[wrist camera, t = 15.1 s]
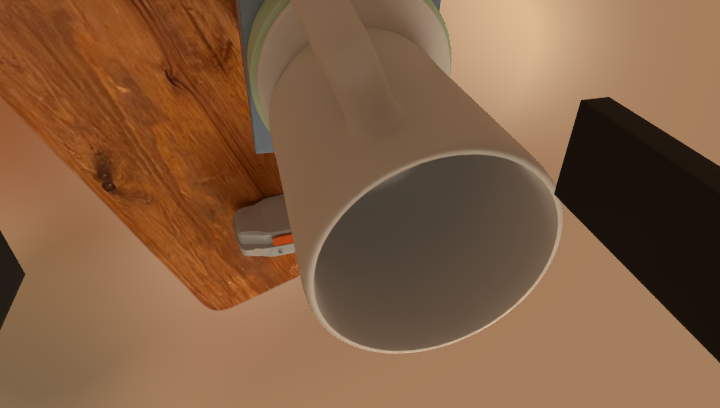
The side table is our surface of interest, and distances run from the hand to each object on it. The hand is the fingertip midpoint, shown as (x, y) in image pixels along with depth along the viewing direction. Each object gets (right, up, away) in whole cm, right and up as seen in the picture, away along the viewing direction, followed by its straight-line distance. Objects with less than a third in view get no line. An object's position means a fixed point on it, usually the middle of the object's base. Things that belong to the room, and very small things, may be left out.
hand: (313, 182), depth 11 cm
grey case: (-7, 0, +48) cm, 48 cm away
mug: (0, +5, +12) cm, 13 cm away
